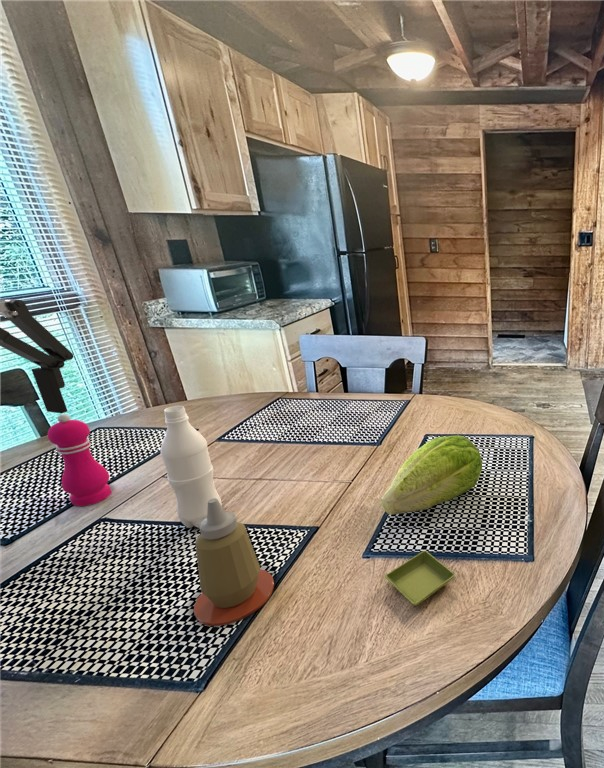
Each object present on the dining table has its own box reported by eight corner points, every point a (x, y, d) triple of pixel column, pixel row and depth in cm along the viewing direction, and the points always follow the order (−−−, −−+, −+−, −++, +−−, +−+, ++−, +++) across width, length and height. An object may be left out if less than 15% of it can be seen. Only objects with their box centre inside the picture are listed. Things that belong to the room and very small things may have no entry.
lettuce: (356, 478, 90) (382, 474, 79) (444, 430, 106) (476, 421, 94) (385, 536, 91) (415, 540, 79) (468, 480, 107) (502, 477, 95)
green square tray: (456, 584, 72) (456, 574, 71) (414, 615, 66) (414, 605, 65) (425, 558, 77) (425, 549, 77) (384, 585, 71) (383, 575, 70)
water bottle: (188, 513, 87) (158, 403, 79) (228, 507, 90) (202, 399, 81) (176, 535, 81) (141, 418, 73) (219, 527, 83) (190, 413, 75)
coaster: (186, 598, 67) (185, 595, 67) (259, 561, 75) (259, 559, 75) (206, 640, 61) (205, 637, 61) (285, 595, 69) (284, 592, 68)
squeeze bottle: (202, 623, 63) (173, 524, 57) (208, 585, 69) (183, 493, 63) (264, 602, 66) (243, 507, 60) (263, 568, 73) (245, 480, 67)
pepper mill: (82, 511, 87) (49, 424, 80) (60, 503, 89) (27, 418, 82) (122, 492, 93) (95, 410, 87) (101, 485, 96) (73, 405, 89)
